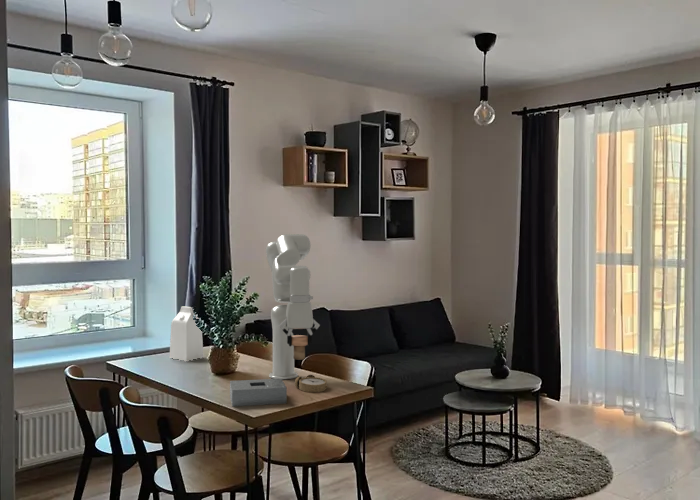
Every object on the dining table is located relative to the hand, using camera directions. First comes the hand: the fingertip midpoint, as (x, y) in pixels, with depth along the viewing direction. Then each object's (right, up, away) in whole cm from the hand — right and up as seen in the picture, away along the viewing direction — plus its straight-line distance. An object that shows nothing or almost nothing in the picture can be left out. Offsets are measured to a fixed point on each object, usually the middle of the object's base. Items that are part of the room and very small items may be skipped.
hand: (299, 345), depth 249 cm
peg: (0, -5, 0) cm, 5 cm away
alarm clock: (+3, -20, +16) cm, 26 cm away
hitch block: (-16, -20, -3) cm, 26 cm away
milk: (-63, -18, +76) cm, 100 cm away
